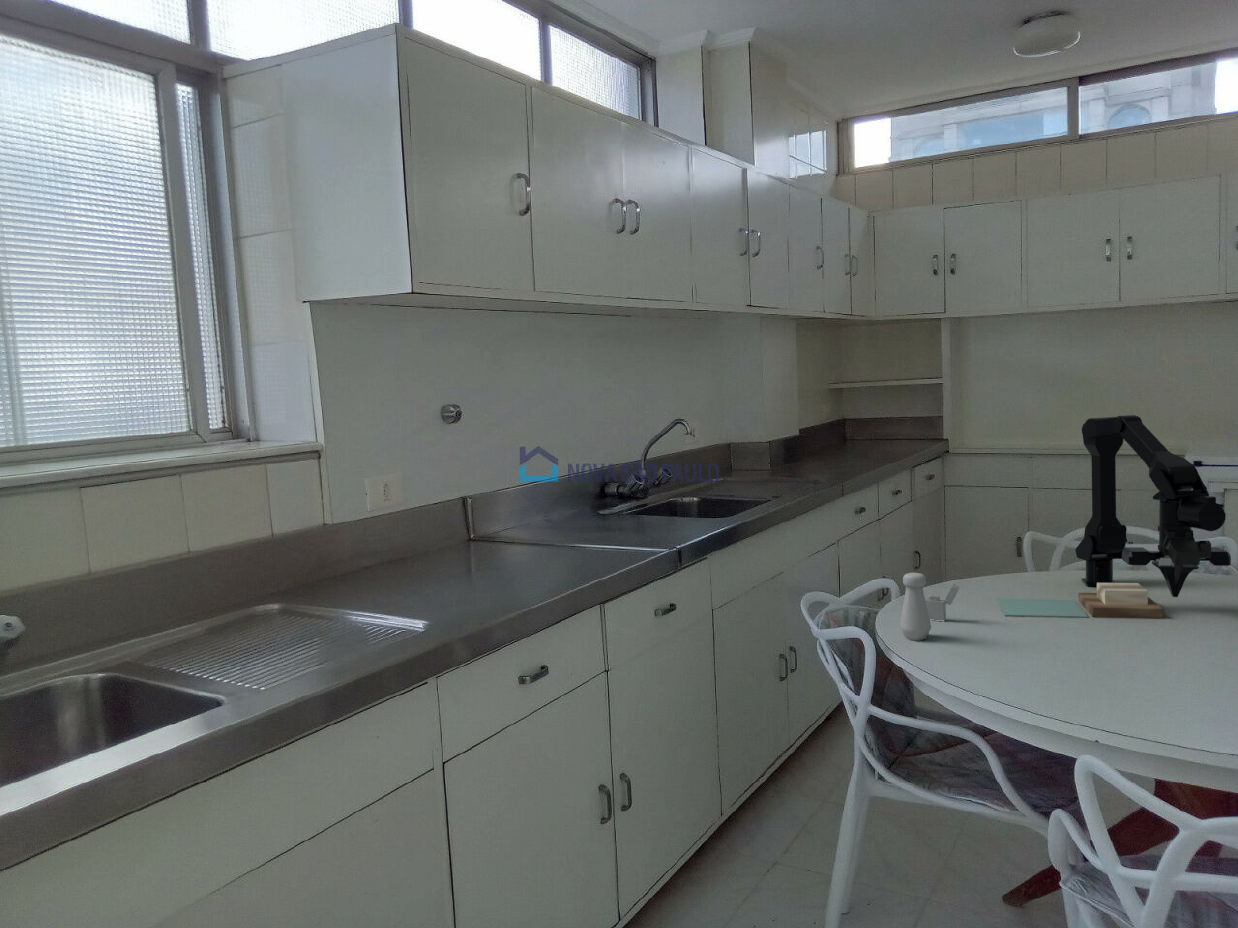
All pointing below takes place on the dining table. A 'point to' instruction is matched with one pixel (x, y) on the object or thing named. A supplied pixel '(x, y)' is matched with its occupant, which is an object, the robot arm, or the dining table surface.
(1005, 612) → the rubber mat
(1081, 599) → the walnut board
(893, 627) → the dining table surface
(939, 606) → the lighter
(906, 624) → the salt shaker
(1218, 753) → the dining table surface
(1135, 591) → the birch tile
